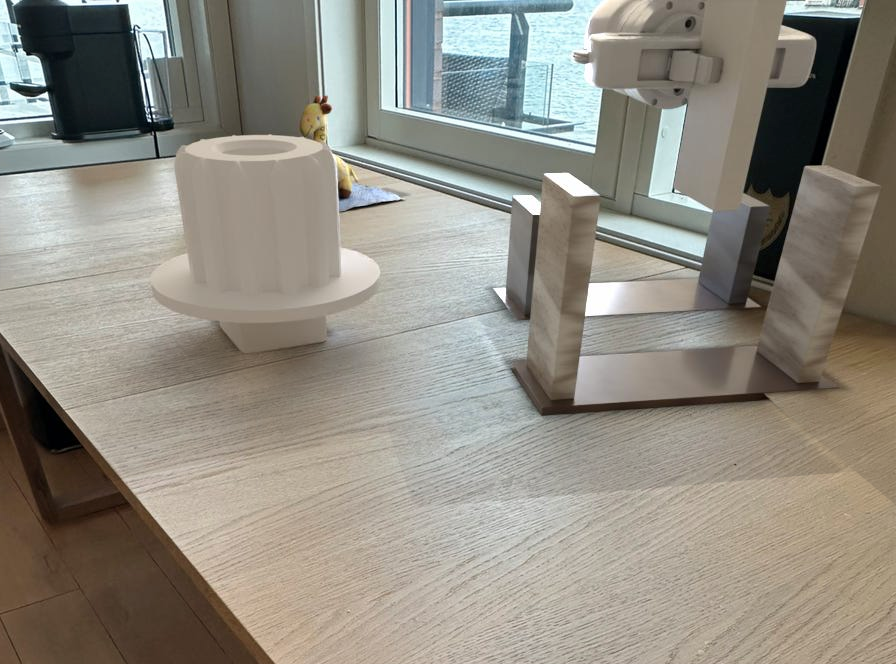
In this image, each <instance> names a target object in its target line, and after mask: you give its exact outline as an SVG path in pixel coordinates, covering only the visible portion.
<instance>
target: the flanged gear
mask: <svg viewBox="0 0 896 664" xmlns="http://www.w3.org/2000/svg"><path fill="white" fill-rule="evenodd" d="M333 154H334V153H333V151H332V149H331V148H330V146H329V145H328V144H327V142H326V143H325V142H317V141H314V140H313V139H310V138H305V137H303V136H299V137H298V136H292V135H291V136H290V135H277V134H276V135H275V134H271V133H269V134H247V135H245V134H244V135H236V134H232V135H230V136H221V137H214V138H207V139H206V138H205V139H204V138H201V139H199V141H195V142H192V143H190V144H188V145H180V147H179V148H178V150H177V152H176V154H175V160H174V167H173V168H174V174H175V182H176V187H177V194H178V202H179V208H180V213H181V221H182V227H183V234H184V239H185V246H186V252H185V253H183V254H179V255H177V256H174V257H172V258H170V259H168V260H166V261H164V262H163V263H161V264H160V265H158V266H157V267H156V268H155V269H154V270H153V271H152V272H151V274H150V278H149V280H150V287H151V293H152V296H153V298H154V300H156V302H158V303H159V304H160V305H161V306H163V307H165V308H166V309H168V310H170V311H173V312H175V313H177V314H181V315H184V316H188V317H191V318H196V319H201V320H208V321H213V322H214V321H215V322H219V327H220V328H221V330H222V332H224V333H225V335H226V336H227V337H228V338H229V339H230V341H231V342H232V343H233V344H234V345H235V347H236V348H237V349H238V350H239V351H240V352H241V353H242V354H244V355H252V354H258V353H264V352H271V351H276V350H283V349H289V348H295V347H296V348H297V347H301V346H307V345H308V346H309V345H315V344H320V343H324V342H327V341H328V331H327V316H331V315H333V314H339V313H342V312H344V311H348V310H350V309H353V308H355V307H358V306H361V305H362V304H364V303H365V302H367V301H369V300H370V299H371V298H373V297H374V296H375V295H376V294H377V293H378V292H379V290H380V288H381V269H380V266H379V265H378V263H377V262H376V261H375V260H373V259H372V258H371V257H369V256H368V255H365V254H363V253H361V252H358V251H355V250H353V249H349V248H346V247H343V246H342V245H341V226H340V223H341V222H340V212H339V201H338V179H337V162H336V158H335V156H334V155H335V154H334V155H333Z"/></svg>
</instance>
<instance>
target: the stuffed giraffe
mask: <svg viewBox="0 0 896 664" xmlns="http://www.w3.org/2000/svg"><path fill="white" fill-rule="evenodd" d="M328 99H329V95H328V94H327V95H324V96H321V95H319V94H317V95H315V96H314V100H313V101H312V103H308V105H306V107H305V108H304V110H303V112H302V115H301V118H300V121H299V131H300V134H301V136H302V137H304V138H305V139H307V138H308V137H310V136H312V135H313V138H312V140H314V141H317V142H325V143H326V144H327V134H328V129H327V124H328V122H327V121H328V119H327V115H329V114H331V112H332V111H333V107H332V104H329V103H328ZM333 155H334V156H335V158H336V162H337V179H338V201H339V213H340V212H343V211H345V212H346V211H347V210H351V209H352V208H357V207H363V206H369V205H372V204H378V203H382V202H390V201H392V202H393V201H399V200H404V198H403V197H400V196H399V195H398V194H395V193H394V192H393V191H389V190H388V191H387V190H383V189H380V188H378V187H374V186H373V187H372V186H369V185H361V184H359V179H358V178H357V176H356V174H355V172H354V171H353V168H352V167H351V166H350V165H349V164H347V163H346V162H345V161H344V160H343V159H342V158H340V157H339V156H337V155H336V154H334V153H333ZM351 177H353V179H354V182H352V181H353V180H352V178H351Z"/></svg>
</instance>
